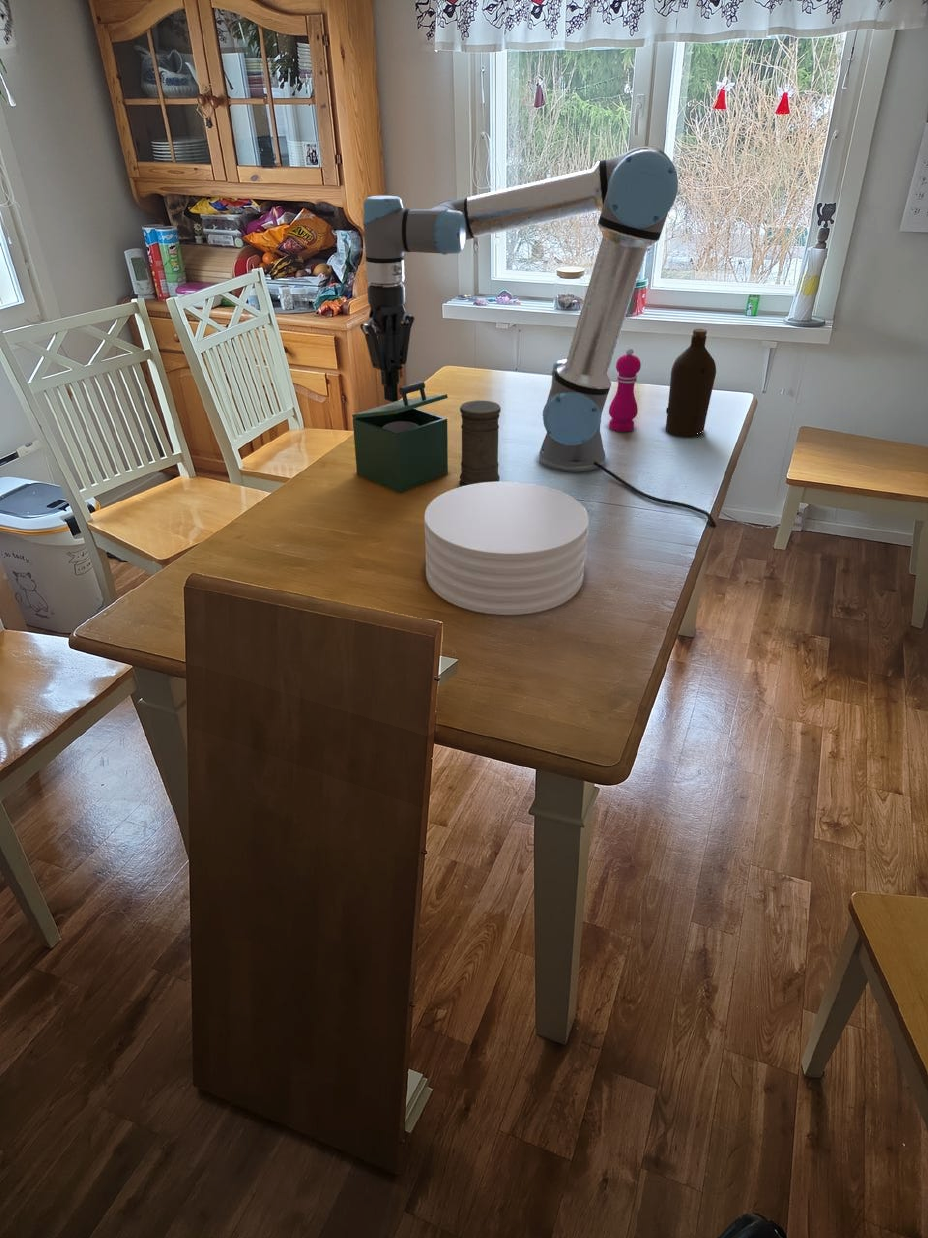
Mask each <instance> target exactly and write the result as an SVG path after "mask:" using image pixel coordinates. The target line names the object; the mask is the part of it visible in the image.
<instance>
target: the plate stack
mask: <svg viewBox="0 0 928 1238" xmlns="http://www.w3.org/2000/svg"><path fill="white" fill-rule="evenodd" d="M423 518H424V538H425V540H424V541H425V542H424V548H425V549H424V550H425V565H426V566H425V577H426V581H427V583H428V585H429V587H430V588H431V590H433V592H434V593H435V594H436V595H438V596H439V597H440V598H441V599H443V600H445V601H446V602H447V603H450V604H452V605H454V606H457V607H459V608H462V609H465V610H468V611H472V612H476V613H480V614H481V613H482V614H487V615H496V616H497V615H498V616H518V615H529V614H535V613H540V612H545V611H547V610H551V609H553V608H556V607H558V606H561V605H563V604H564V603H566V602H568V601H569V600H571V599H573V597H574V596H575V595H576V594H577V593H578V592H579V590H580V589H581V587H582V585H583V582H584V575H585V564H586V555H587V544H588V543H587V542H588V533H589V532H588V531H589V526H590V525H589V524H590V516H589V513H588V511H587V509H586V508H585V506H584V505H583V504H581V503H580V502H579V501H578V500H577V499H576V498H574V497H572V496H571V495H569V494H566V493H565V492H563V491H560V490H558V489H555V488H551V487H548V486H545V485H539V484H536V483H535V484H534V483H529V482H520V481H500V482H484V483H476V484H471V485H466V486H462V487H460V486H459V487H456V488H452V489H450V490H447V491H445V492H443V493H441V494H439V495H438V496H436V497H435V498H433V499H432V501H430V503H428V504H427V506H426V508H425V511H424V517H423Z"/></svg>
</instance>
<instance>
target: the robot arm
mask: <svg viewBox="0 0 928 1238" xmlns="http://www.w3.org/2000/svg"><path fill="white" fill-rule="evenodd" d="M678 181H679V177H678V172H677V169H676V167H675V164H674V162H673V161H672V160H671V159H670V157H669V156H668V155H667V154H666V153H665V152H664V151H663V150H661V149H660V148H658V147H654V146H649V145H642V146H637V147H634V148H633V149H630V150H628V151H627V152H624V153H621V154H619V155H616V156H613V157H610V158H606V159H603V160H598V161H597V162H596V163H595V164H594V166H593V167H592V168H590V169H589V168H588V169H584V170H581V171H576V172H573V173H568V174H563V175H559V176H554V177H549V178H545V179H541V180H538V181H532V182H528V183H524V184H520V185H515V186H510V187H507V188H502V189H498V190H493V191H490V192H484V193H480V194H477V195H472V196H468V197H466V198H459V199H454V200H453V199H449V200H444V201H441V202H439V203H438V204H437V205H435V206H433V207H432V208H430V209H424V208H423V209H419V208H418V209H412V208H405V207H404V205H403V200H402V198H401V197H399V196H396V195H372V196H371V195H370V196H368V197H366V198H365V199H364V201H363V203H362V204H363V207H362V208H363V209H362V210H363V222H362V226H363V237H364V249H365V272H366V273H365V274H366V282H367V283H368V285H367V289H366V291H367V302H368V305H369V308H370V310H369V313H368V320H366V322H365V323H364V322H361V323H360V325H359V327H360V328H359V329H361V332H362V333H363V335H364V337H365V338H364V339H365V342H366V346H367V350H368V354H369V357H370V361H371V365H372V368H374V369H377V370H379V371H380V375H381V376H380V378H381V381H380V382H381V385H382V386H383V395H384V396H383V397H384V400H386V401H389V402H390V403H393V402H396V401H399V394H398V393H399V389H398V384H399V383H400V371H401V370H402V369H403V366H402V365H406V364H407V360H408V359H407V358H408V353H409V345H410V337H411V330H412V326H413V324H414V322H415V317H414V316H413V315H410V314H408V313H407V312H406V309H405V307H404V305H405V304H406V285H405V284H404V282H405V256H404V255H405V253H424V254H441V255H445V256H446V255H449V254H452V255H453V254H460V253H462V251H463V250H464V246H465V244H466V243H465V242H466V241H468V240H472V239H475V238H480V237H485V236H489V235H494V234H498V233H504V232H508V231H513V230H519V229H524V228H528V227H533V226H537V225H542V224H546V223H551V222H556V221H562V220H565V219H570V218H575V217H580V216H585V215H589V214H594V213H597V214H600V215H599V218H598V221H597V222H598V223H597V226H598V228H599V231H600V232H601V235H602V238H601V241H600V245H599V248H598V252H597V255H596V259H595V262H594V265H593V270H592V272H591V276H590V279H589V282H588V286H587V289H586V293H585V297H584V299H583V303H582V306H581V310H580V313H579V316H578V319H577V324H576V327H575V330H574V334H573V337H572V340H571V344H570V346H569V351H568V354H567V358H566V359H560V360H557V361H555V362H554V363H553V365H552V370H551V386H550V390H549V393H548V396H547V400H546V403H545V405H544V407H543V411H542V421H543V426H544V428H545V431H546V434H545V437H544V438H543V442H542V444H541V447H540V450H539V456H538V460H539V462H540V464H541V465H542V466H543V467H545V468H547V469H548V470H549V469H550V470H553V471H556V472H561V473H568V474H584V473H590V472H594V471H597V470H599V469H600V470H602V471H603V472H605V473H606V474H607V475H609V476H611V477H612V478H614V479H615V480H616V481H618V482H619V483H621V484H622V485H624V486H625V487H627V488H629V489H630V490H631V491H632V492H634V493H636V494H637V495H639V496H641V497H642V498H645V499H648V500H649V501H650V500H651V501H653V502H656V503H661V504H665V505H671V506H676V507H682V508H686V509H689V510H692V511H694V512H696V513H699V514H702V515H704V516H706V518H707V519H708V520H709V522H710V525H711V527H712V528H717V524H716V521H715V520H714V518H713V516H712V514H710V512H708V511H707V510H705V509H702V508H699V507H697V506H694V505H692V504H688V503H684V502H680V501H675V500H668V499H664V498H659V497H655V496H653V495H650V494H647V493H645V492H644V491H642V490H640V489H637V488H636V487H635V486H634V485H632V484H630V483H629V482H627V481H626V480H624V479H623V478H621V477H620V476H618V475H617V474H615V473H614V472H612V471H611V470H610V469H608V468H607V467H605V466H604V465H605V462H606V452H605V449H604V443H603V438H602V434H601V424H602V414H603V411H604V408H605V405H606V401H607V400H608V399H607V398H608V396H609V393H610V389H611V387H612V381H611V379H610V377H609V375H608V372H609V368H610V366H611V362H612V359H613V357H614V353H615V350H616V347H617V344H618V341H619V337H620V335H621V332H622V329H623V327H624V323H625V319H626V316H627V314H628V310H629V308H630V304H631V301H632V299H633V295H634V291H635V289H636V285H637V282H638V280H639V276H640V273H641V270H642V267H643V264H644V261H645V259H646V255H647V253H648V250H649V248H650V247H653V246H654V245H656V244H657V243H659V241H660V238H661V235H662V233H663V229H664V227H665V224H666V221H667V218H668V214H669V212H670V211H671V208H672V207H673V205H674V204H675V201H676V199H677V194H678V189H679V182H678Z"/></svg>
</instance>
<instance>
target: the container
mask: <svg viewBox="0 0 928 1238" xmlns="http://www.w3.org/2000/svg"><path fill="white" fill-rule="evenodd" d="M459 410H460V414H461V415H460V416H461V426H460V428H461V462H460V466H461V473H460V475H459V483H458V485H459V487H462V486H466V485H471V484H476V483H484V482H501V481H500V475H499V466H500V465H499V428H500V425H499V419H500V413H501V410H502V408H501V406H500V404H498V403H497V402H495V401H491V400H483V399H482V400H479V399H478V400H469V401H466V402H463V403H462V404H461V405H460V408H459Z"/></svg>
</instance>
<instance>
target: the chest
mask: <svg viewBox="0 0 928 1238" xmlns="http://www.w3.org/2000/svg"><path fill="white" fill-rule="evenodd" d="M399 421H405V422H412V423H415V424H417V425H418V426H419V427H416V428H413V429H410V430H407V431H404V432H401V433H398V434H397V433H394V432H392V431H389V430H386V429H384V428H382V427H383V426H384V425H386V424H388V423H391V422H399ZM352 428H353V429H352V431H353V442H354V443H353V444H354V454H355V457H354V458H355V467H356V475H359V476H362V477H363V478H366V479H368V480H371V481H372V482H375V483H376V484H380V485H382V486H384V487H386V488H388V489H391V490H393V491H395V492H397V493H402V492H405V491H407V490H411V489H412V488H415V487H417V486H420V485H423V484H425V483H428V482H431V481H433V480H435V479H438V478H441V477H443V476H445V475H446V476H447V475H448V474H449V466H448V465H449V461H448V460H449V458H448V456H449V452H448V451H449V450H448V449H449V448H448V447H449V446H448V445H449V443H448V441H449V440H448V439H449V438H448V418H446V417H444V416H441V415H437V414H435V413H432V412H428V411H426V410H423V409H421V408H418V407H417V408H414V409H411V410H407V411H404V412H401V413H398V414H390V415H381V416H371V417H361V418H353V417H352Z"/></svg>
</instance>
